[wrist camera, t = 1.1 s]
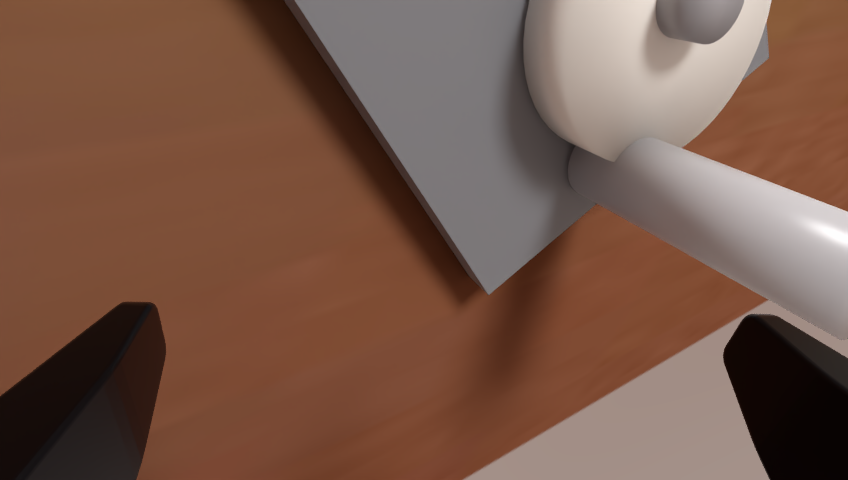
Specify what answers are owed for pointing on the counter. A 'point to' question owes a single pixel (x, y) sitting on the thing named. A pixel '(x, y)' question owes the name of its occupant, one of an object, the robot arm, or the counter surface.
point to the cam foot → (680, 141)
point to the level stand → (457, 119)
